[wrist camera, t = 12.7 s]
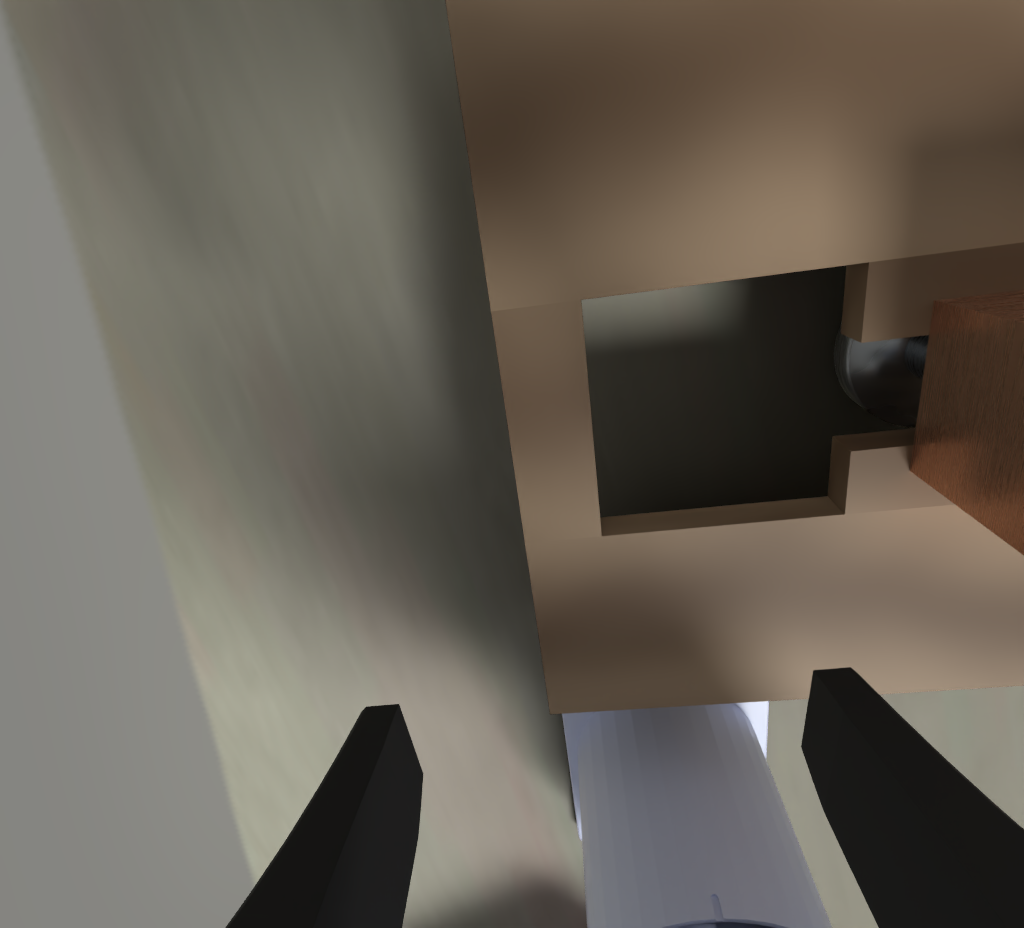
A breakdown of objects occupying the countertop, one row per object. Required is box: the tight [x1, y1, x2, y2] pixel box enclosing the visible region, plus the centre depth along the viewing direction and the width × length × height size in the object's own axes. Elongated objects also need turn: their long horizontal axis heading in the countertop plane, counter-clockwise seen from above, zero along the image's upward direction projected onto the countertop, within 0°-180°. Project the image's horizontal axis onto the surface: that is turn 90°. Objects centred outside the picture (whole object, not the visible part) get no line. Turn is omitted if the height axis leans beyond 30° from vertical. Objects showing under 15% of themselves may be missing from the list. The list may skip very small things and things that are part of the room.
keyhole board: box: [445, 0, 1024, 714], centre depth 16 cm, size 18×16×5 cm
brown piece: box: [834, 290, 1024, 555], centre depth 13 cm, size 4×4×8 cm
